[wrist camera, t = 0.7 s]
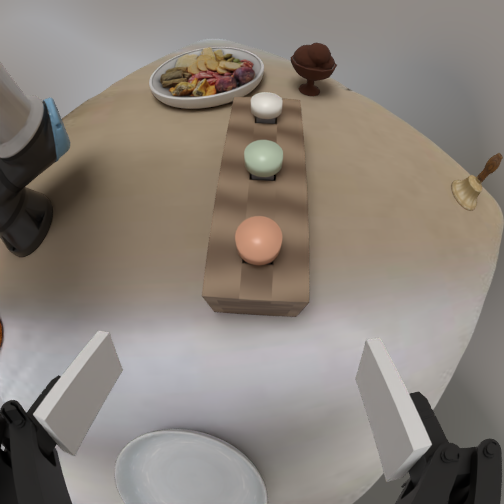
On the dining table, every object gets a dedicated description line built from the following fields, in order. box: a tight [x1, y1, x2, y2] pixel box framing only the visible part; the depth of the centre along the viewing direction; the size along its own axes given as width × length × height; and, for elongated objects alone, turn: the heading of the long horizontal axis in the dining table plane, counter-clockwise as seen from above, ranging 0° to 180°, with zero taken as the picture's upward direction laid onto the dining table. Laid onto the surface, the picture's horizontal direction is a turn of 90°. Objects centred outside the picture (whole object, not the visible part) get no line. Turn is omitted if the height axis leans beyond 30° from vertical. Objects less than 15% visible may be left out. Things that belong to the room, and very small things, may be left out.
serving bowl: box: [115, 429, 268, 504], centre depth 26 cm, size 21×21×7 cm
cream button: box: [251, 92, 283, 124], centre depth 41 cm, size 5×5×6 cm
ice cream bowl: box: [291, 43, 337, 96], centre depth 53 cm, size 11×11×15 cm
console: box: [202, 97, 309, 317], centre depth 42 cm, size 36×12×10 cm, turn 176°
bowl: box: [149, 47, 264, 109], centre depth 59 cm, size 30×30×8 cm
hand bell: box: [452, 153, 503, 210], centre depth 41 cm, size 8×8×16 cm
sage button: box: [244, 140, 283, 181], centre depth 36 cm, size 5×5×6 cm
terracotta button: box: [235, 216, 282, 265], centre depth 32 cm, size 5×5×6 cm
